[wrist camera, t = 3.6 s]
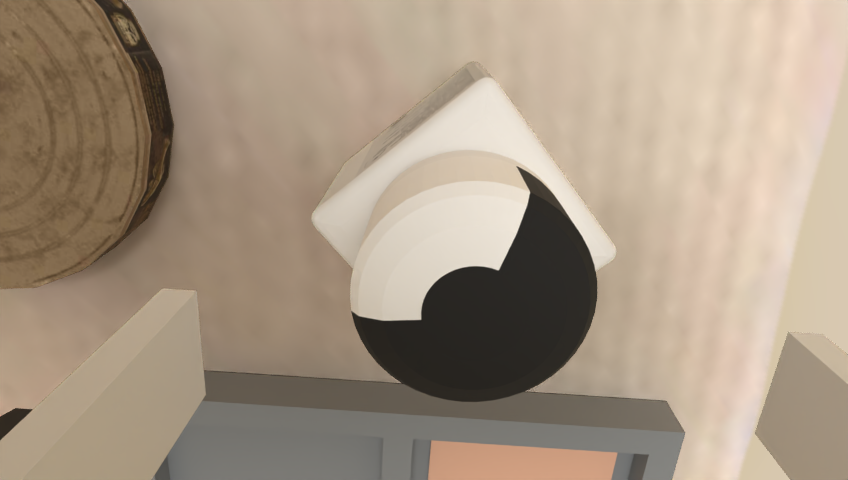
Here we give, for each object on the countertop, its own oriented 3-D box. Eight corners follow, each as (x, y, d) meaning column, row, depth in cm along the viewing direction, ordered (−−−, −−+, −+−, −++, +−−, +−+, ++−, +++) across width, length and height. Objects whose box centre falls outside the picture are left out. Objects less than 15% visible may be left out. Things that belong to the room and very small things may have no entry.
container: (573, 193, 27) (688, 339, 14) (442, 284, 28) (445, 482, 16) (475, 56, 24) (512, 94, 12) (340, 165, 26) (257, 290, 14)
